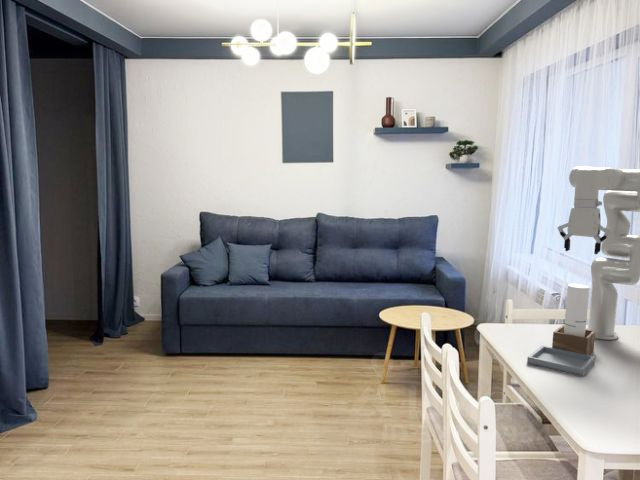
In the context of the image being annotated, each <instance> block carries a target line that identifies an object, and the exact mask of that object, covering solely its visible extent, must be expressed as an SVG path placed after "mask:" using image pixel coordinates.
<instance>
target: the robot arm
mask: <svg viewBox="0 0 640 480" xmlns="http://www.w3.org/2000/svg"><path fill="white" fill-rule="evenodd" d="M568 180H569V181H568V182H569V183H570V185H571V187H573V188H574V199H573V206H572V207H571V209H570V212H569V217H568V220H567V223H564V224H562V225H559V226H558V227H557V230H558V233H559V235H560V237H562V238H563V240H564V243H563V244H564V245H563V248H564V249H565V250H564V251H565V252H568V251H570V249H571V239H570V238H571V237H572V236H576V237H577V236H578V237H587V238H588V237H589V238H593V239H594V240H595V241H596V242H595V243H594V255H598V254H599V253H601V254H603V255H604V256H606V257H598V258H595V259H593V260H592V262H591V265H590V275H591V291H590V293H591V295H590V303H589V305H590V306H589V312H588V313H589V315H588V323H587V324H588V325H587V326H588V327H586V330H592V331H595V339H598V340H603V341H604V340H606V341H611V340H612V341H613V340H617V339H618V338H619V334H618V333H617V332H615V328H616V327H615V326H616V315H617V306H618V298H619V295H618V291H617V289H616V287H615V285H614V284H618V285H625V286H635V285H637V284H638V283H639V281H640V235H633V234H629V233H630V229H631V222H630V220H629V218H627V216H626V215H625V213H623V211H624V212H634V213H635V212H636V213H640V169H625V168H623V169H621V168H613V167H596V166H575V167H573V168H572V169H571V170H570V173H569V177H568ZM599 191H605V192H604V194H603V196H602V197H603V198H602V200H603V201H599ZM600 206H603V208H604V212H605V216H606V227H604V225H601V209H600V208H599V207H600ZM565 228H567V230H566V231H567V233H566V232H565V231H564V229H565ZM601 232H604V234H603V236H600V234H601ZM611 257H612V258H611Z"/></svg>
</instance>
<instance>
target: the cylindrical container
mask: <svg viewBox="0 0 640 480" xmlns="http://www.w3.org/2000/svg"><path fill="white" fill-rule="evenodd" d="M589 297H590V286H589V285H587V284H581V283H569V284H567V290H566V303H565V311H564V312H565V314H564V324H563V325H564V334H570V335H575V336H580V337H585V331H586V329H587V319H588V318H587V317H588V310H589V309H588V308H589Z"/></svg>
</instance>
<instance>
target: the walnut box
mask: <svg viewBox="0 0 640 480" xmlns="http://www.w3.org/2000/svg"><path fill="white" fill-rule="evenodd" d="M595 340H596V338H595V331H592V330H586V331H585V337H580V336H575V335H570V334H564V324H562V325H561V326H559V327H558V328H557V329H555V330H553V333H552V343H551V346H552V347H551V348H556V349H561V350H566V351H570V352H575V353H580V354H585V355H589V356H592V354H593V353H594V351H595Z"/></svg>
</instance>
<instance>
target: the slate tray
mask: <svg viewBox="0 0 640 480" xmlns="http://www.w3.org/2000/svg"><path fill="white" fill-rule="evenodd" d="M595 362H596V356H594V355H590V356H589V355H585V354H580V353H575V352H570V351H566V350H561V349H556V348H552V347H550V346H547V345H541V346H539V348H537V349H536V350H535V351H533V352H532V353H530V354H529V355H528V356H527V362H526V365H530V366H535V367H539V368H541V369H542V368H544V369H548V370H551V371H557V372H560V373H564V374H565V373H566V374H569V375H573V376H577V377H583V378H584V376H586V374H587V373H588V372H589V370H591V368H592V367H593V366H594V365H595Z"/></svg>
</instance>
